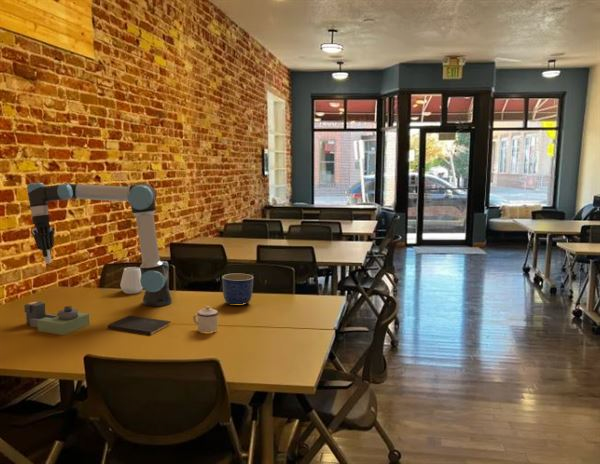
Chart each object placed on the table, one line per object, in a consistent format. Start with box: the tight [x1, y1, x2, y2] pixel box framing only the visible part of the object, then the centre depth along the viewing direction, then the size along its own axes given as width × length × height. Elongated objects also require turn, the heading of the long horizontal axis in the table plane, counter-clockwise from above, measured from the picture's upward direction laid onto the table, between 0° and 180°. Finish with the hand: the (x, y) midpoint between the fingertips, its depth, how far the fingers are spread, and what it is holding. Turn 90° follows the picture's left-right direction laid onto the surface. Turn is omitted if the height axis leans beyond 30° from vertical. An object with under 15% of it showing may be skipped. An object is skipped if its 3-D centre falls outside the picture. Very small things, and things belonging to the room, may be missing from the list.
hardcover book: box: [107, 314, 172, 336], centre depth 227 cm, size 16×23×2 cm
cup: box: [119, 266, 143, 295], centre depth 286 cm, size 13×13×14 cm
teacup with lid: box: [192, 305, 219, 332], centre depth 224 cm, size 12×9×12 cm
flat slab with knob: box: [29, 305, 90, 336], centre depth 223 cm, size 22×16×10 cm
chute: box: [23, 300, 46, 325], centre depth 227 cm, size 6×7×9 cm
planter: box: [221, 273, 254, 305], centre depth 269 cm, size 17×17×15 cm
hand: (48, 262), depth 239 cm, fingers closed
